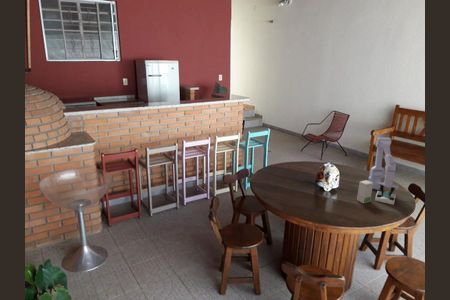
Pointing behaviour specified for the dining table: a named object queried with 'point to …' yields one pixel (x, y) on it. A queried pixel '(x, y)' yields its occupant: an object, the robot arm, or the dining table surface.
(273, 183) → the dining table surface
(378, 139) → the robot arm
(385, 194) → the ball
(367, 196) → the skincare box
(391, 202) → the white square frame
